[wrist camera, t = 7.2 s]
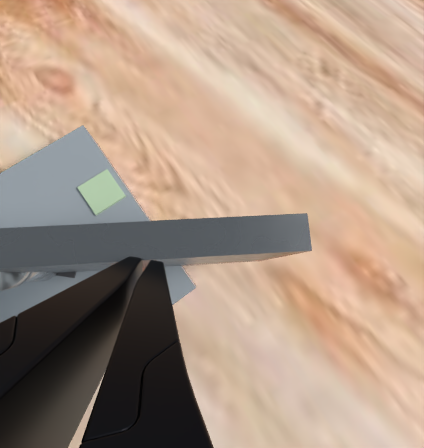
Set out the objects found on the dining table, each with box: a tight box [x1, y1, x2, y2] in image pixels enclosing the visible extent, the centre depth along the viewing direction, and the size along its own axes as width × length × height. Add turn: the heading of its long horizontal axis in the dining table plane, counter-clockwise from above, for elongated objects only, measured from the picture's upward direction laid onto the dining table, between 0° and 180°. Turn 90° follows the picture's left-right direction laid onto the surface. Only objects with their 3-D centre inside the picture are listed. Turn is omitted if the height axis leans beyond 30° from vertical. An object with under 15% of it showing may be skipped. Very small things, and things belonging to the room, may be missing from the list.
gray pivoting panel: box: [0, 213, 312, 291], centre depth 12 cm, size 13×3×7 cm, turn 93°
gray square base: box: [0, 126, 196, 322], centre depth 16 cm, size 12×12×3 cm
